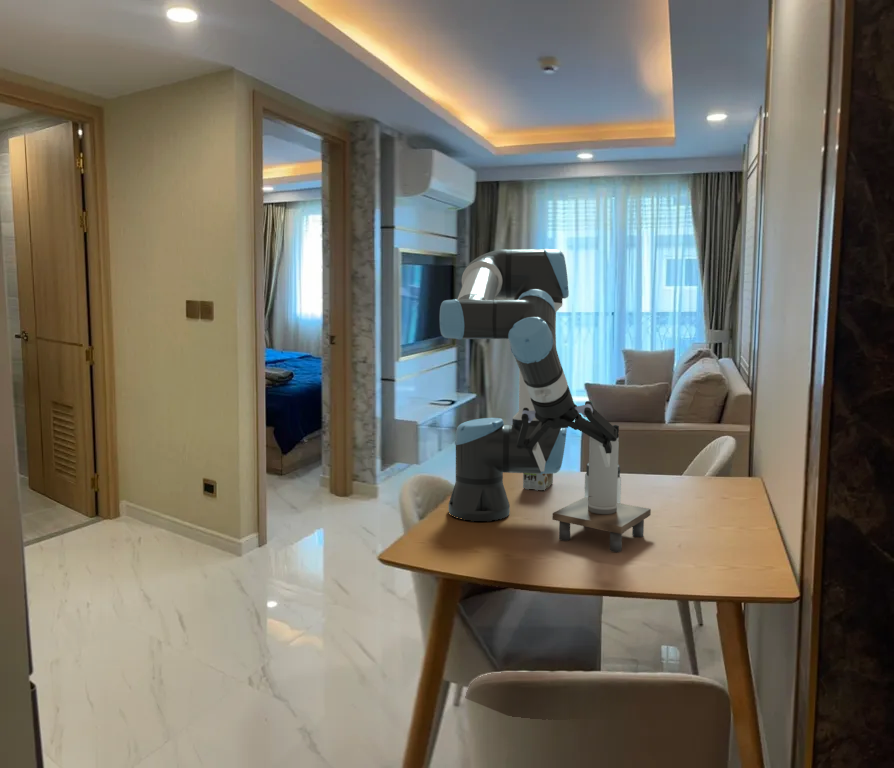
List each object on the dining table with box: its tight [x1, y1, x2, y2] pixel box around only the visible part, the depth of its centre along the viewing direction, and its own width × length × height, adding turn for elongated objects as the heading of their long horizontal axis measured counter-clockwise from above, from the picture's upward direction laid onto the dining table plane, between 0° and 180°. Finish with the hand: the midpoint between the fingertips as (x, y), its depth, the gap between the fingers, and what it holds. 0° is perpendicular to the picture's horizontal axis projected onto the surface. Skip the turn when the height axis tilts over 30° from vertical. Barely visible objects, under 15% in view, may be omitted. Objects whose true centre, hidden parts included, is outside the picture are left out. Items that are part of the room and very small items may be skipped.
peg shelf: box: [552, 496, 652, 553], centre depth 160 cm, size 16×16×6 cm
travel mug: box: [588, 424, 620, 515], centre depth 158 cm, size 6×7×20 cm
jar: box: [584, 462, 622, 503], centre depth 178 cm, size 9×8×12 cm
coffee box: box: [522, 473, 554, 491], centre depth 202 cm, size 9×6×16 cm
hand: (575, 464), depth 149 cm, fingers open, 13 cm apart
